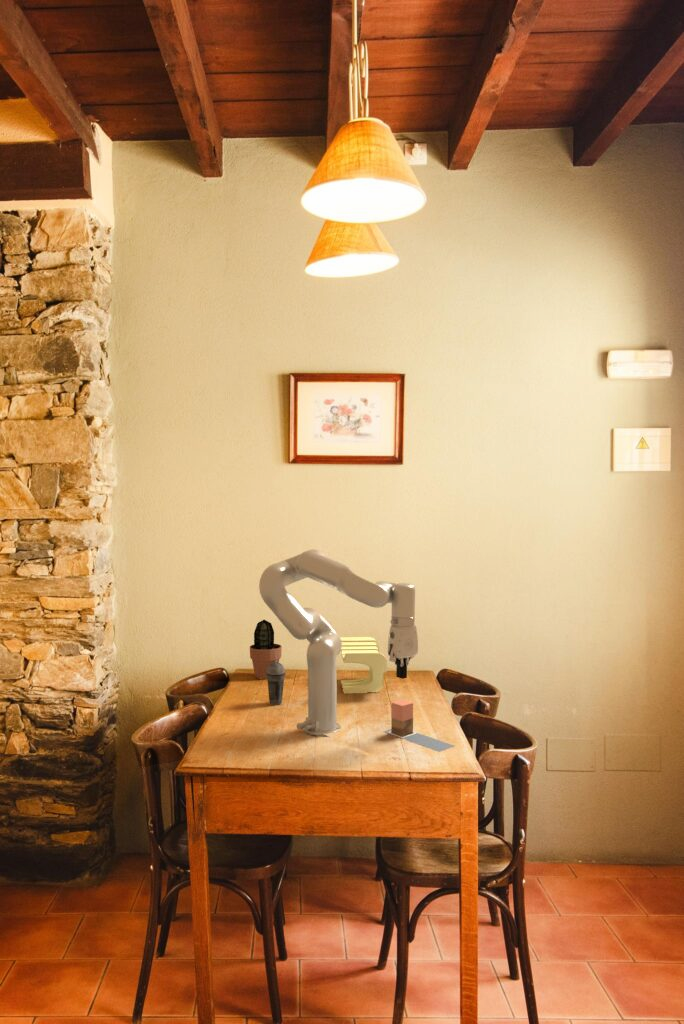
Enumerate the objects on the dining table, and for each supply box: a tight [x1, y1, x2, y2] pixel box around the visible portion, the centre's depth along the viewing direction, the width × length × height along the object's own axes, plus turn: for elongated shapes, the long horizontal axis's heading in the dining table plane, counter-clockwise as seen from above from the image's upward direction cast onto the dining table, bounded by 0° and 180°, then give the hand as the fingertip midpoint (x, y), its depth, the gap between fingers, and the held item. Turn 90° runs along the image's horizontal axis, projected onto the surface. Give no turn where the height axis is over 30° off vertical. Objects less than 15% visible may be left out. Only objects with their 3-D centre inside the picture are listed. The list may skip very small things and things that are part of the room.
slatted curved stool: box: [339, 636, 388, 694], centre depth 291 cm, size 30×16×18 cm, turn 4°
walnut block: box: [390, 717, 414, 737], centre depth 235 cm, size 5×5×5 cm
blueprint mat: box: [383, 729, 455, 753], centre depth 229 cm, size 8×24×1 cm, turn 42°
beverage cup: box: [266, 651, 286, 706], centre depth 269 cm, size 7×7×20 cm
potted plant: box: [249, 619, 283, 680], centre depth 307 cm, size 14×14×25 cm
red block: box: [390, 699, 414, 721], centre depth 234 cm, size 5×5×5 cm
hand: (401, 677), depth 234 cm, fingers closed
